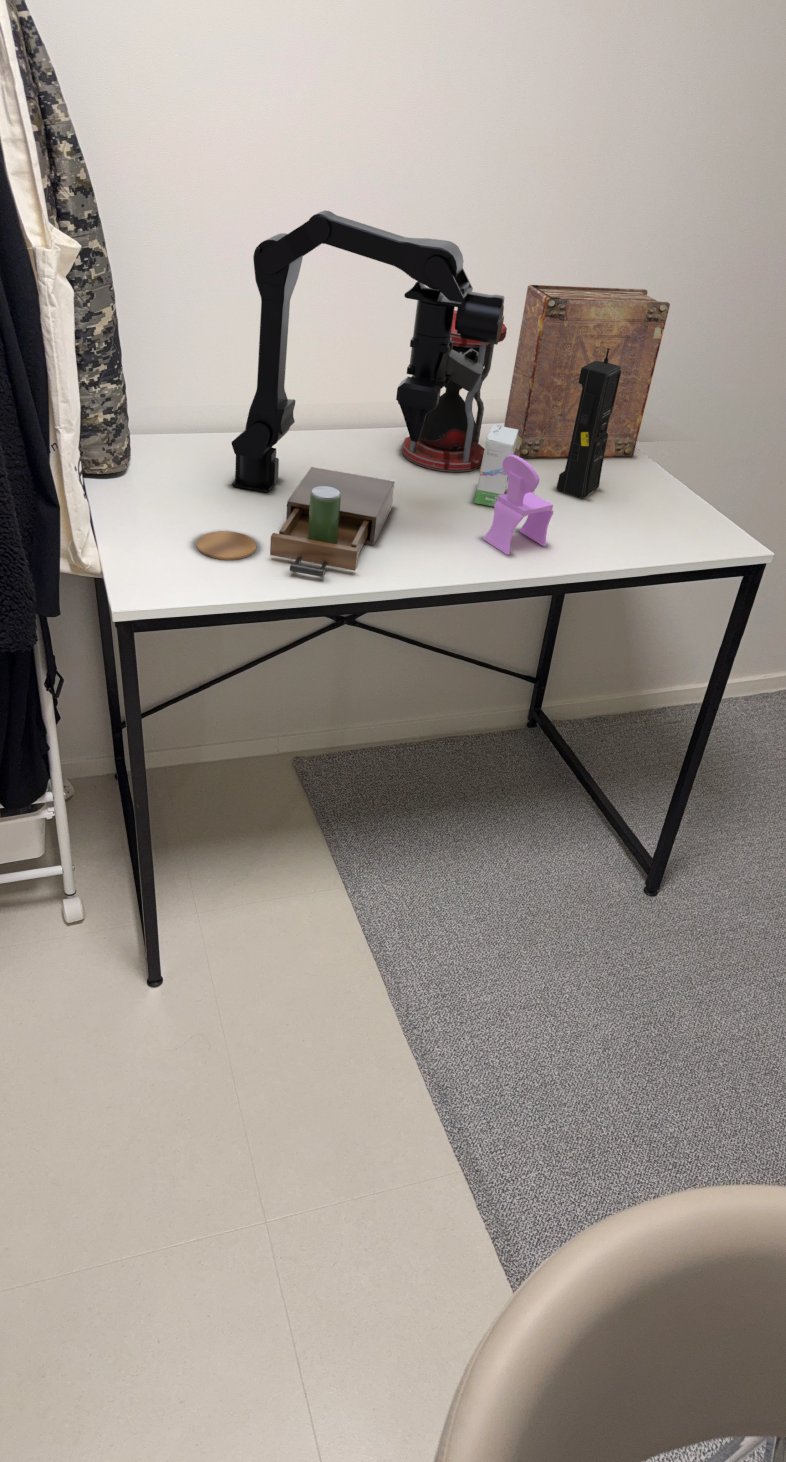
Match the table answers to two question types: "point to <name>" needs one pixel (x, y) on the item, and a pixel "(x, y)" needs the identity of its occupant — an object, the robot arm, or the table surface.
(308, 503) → the cabinet
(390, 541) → the table surface
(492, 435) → the ink box
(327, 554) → the drawer
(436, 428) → the hourglass
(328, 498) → the can
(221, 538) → the coaster
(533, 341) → the book
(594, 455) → the portable radio
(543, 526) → the toy chair
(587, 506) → the table surface
